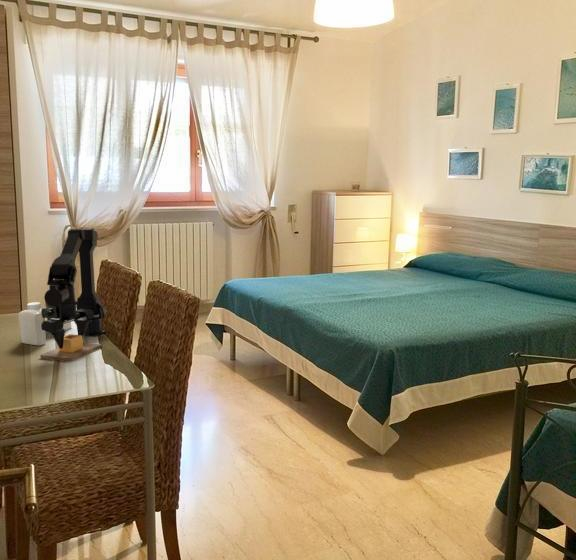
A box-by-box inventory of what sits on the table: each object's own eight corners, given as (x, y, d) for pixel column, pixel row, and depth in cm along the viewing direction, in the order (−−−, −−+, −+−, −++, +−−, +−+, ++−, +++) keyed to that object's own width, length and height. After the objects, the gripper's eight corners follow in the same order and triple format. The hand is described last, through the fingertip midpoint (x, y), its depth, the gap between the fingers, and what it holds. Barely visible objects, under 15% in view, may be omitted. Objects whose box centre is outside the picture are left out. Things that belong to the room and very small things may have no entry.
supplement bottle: (40, 339, 223) (36, 305, 220) (24, 339, 224) (20, 305, 222) (50, 334, 229) (47, 301, 227) (35, 334, 231) (31, 301, 228)
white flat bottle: (19, 343, 219) (15, 310, 217) (29, 340, 223) (25, 307, 221) (38, 346, 214) (34, 312, 212) (48, 343, 218) (44, 310, 216)
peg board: (75, 344, 216) (73, 327, 214) (101, 347, 211) (100, 330, 210) (40, 358, 201) (38, 340, 200) (68, 361, 196) (66, 343, 195)
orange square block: (71, 346, 209) (69, 334, 209) (83, 347, 207) (82, 335, 206) (59, 350, 205) (58, 338, 204) (71, 352, 202) (70, 339, 202)
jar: (73, 325, 241) (70, 296, 239) (69, 331, 233) (66, 300, 231) (49, 327, 240) (46, 297, 238) (45, 332, 232) (41, 302, 230)
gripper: (68, 292, 214) (72, 334, 217) (26, 304, 197) (31, 350, 200) (92, 293, 210) (97, 337, 213) (52, 306, 193) (57, 353, 196)
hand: (71, 344), depth 205 cm, fingers open, 9 cm apart
